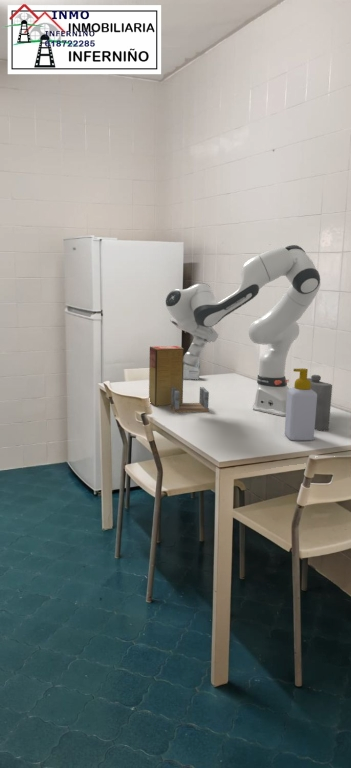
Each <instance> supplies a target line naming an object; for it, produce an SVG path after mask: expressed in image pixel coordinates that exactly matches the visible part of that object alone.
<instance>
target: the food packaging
mask: <svg viewBox="0 0 351 768" xmlns="http://www.w3.org/2000/svg"><path fill="white" fill-rule="evenodd" d="M184 355H185V348H183V347H181V346H178V345H169V346H168V345H167V346H160V345H159V346H149V369H148V370H149V371H148V372H149V373H148V376H149V378H148V381H149V382H148V399H149V398H150V402H151V403H150V404H151V405H152V406H154V407H166V406H168V407H169V406H171V389H172V387H175V388H176V389H177V390H178V391H179V403H184V401H183V399H184V379H183V365H184V362H183V356H184Z"/></svg>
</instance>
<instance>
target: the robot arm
mask: <svg viewBox="0 0 351 768" xmlns="http://www.w3.org/2000/svg"><path fill="white" fill-rule="evenodd" d="M282 276H285V277H286V279H287V280H288V281H289V282H290V285H289V286H288V288H287V289H286V291H285V292H284V293H283V295H282V297H281V298H280V299H279V300H278V302H277V303H276V304H275V305H274V306H273V307H272V308H271V309H269V311H267V312H266V313H265V314H263V316H261V317H260V318H258V319H256V320H254V321H252V322H251V324H250V325H249V327H248V337H249V339H250V340H251V342H252V343H254V344H256V345H257V344H258V345H263V346H264V345H265V346H267V347H266V349H265V351H264V352H263V353H262V354H261V355H260V357H259V360H258V362H259V363H258V367H259V368H258V374H257V377H256V380H257V381H256V384H257V388H256V393H255V399H254V402H253V405H252V407H253V408H252V410H254V411H257V412H263V413H267V414H273V415H277V416H281V417H286V404H287V391H288V389H289V388H290V387H289V386H288V382H290V379H286V376H285V373H286V372H285V370H286V361H287V357H288V353H289V351H290V348H291V346H292V344H293V343H294V341H295V340H296V339H297V338H298V337H299V335H300V326H299V324H298V322H297V321H299V320H300V319H301V318H302V316H303V315H304V314H305V312H306V311H307V309H308V307H309V306H310V305H311V304H312V302H313V301H314V299H315V297H316V296H317V295H318V293H319V289H320V287H321V276H320V273H319V271H318V270H317V268H316V265H315V263H314V262H313V260H312V259H310V256H309V255H308V254H307V253H306V251H305V250H304V249H303V248H302V247H301V246H299V245H297V244H291V245H287V246H286V247H282V246H281V247H278V248H277V247H276V248H273V249H270V250H267V251H265V252H262V253H260V254H258V255H255V256H253V257H251V258H249V259H248V260H247V261H245V263H244V264H243V266H242V268H241V272H240V283H239V286H238V289H237V290H236V291H234V292H233V293H231V294H230V295H229V296H226V298H224V299H221V301H219V302H217V300H216V297H215V294H214V292H213V290H212V287H211V286H210V284H208V283H204V282H197V283H193V285H191V286H189V287H188V288H184V289H178V288H177V289H174V290H173V289H172V290H171V291H170V292H169V293H168V294H167V296H166V297H165V306H166V309H167V311H168V312H169V313H170V315H171V318H170V319H169V320H170V322H171V324H173V325H174V326H175V327H176V328H177V329H179V330H181V331H184V332H186V333H189V334H190V335H192V337H194V336H195V335H196V336H199V337H201V338H204V339H206V341H207V343H209V344H211V342H212V343H215V342H216V341H217V339H218V337H219V333H218V332H217V331H216V329H214V328H213V327H214V326H216V325H218V323H219V322H220V321H221V320H223V319H224V318H226V317H227V316H228V315H230V314H232V313H233V312H234V311H236V310H238V309H239V308H241V307H242V306H244V305H247V303H249V302H250V301H251V300H253V299H254V298H255V297H256V296H257V295H258V294H259V292H260V290H261V289H262V288H263V287H264V286H265V285H267V284H269V283H271V282H273V281H275V280H277V279H279V278H280V277H282ZM211 326H212V327H211Z"/></svg>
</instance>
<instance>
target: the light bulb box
mask: <svg viewBox="0 0 351 768" xmlns="http://www.w3.org/2000/svg"><path fill="white" fill-rule="evenodd" d="M200 363H201V361H200V358H199V362H198V364H197V366H195V367H190V366H187V365H186V364H185V363H184V365H183V380H191V379H195V381H199V380H198V379H200V370H201V369H200V368H201V367H200V366H201V365H200ZM196 379H197V380H196Z"/></svg>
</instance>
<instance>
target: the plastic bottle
mask: <svg viewBox="0 0 351 768" xmlns="http://www.w3.org/2000/svg"><path fill="white" fill-rule="evenodd" d="M211 327H212V328H213V326H211ZM207 343H208V342H207V341H206V339H204V338H201V337H199V336H196V335H195V336H193V340H192V342H191V344H190V346H189V348H188V350H187V351H186V352H185V353H184V356H183V362H184V363H185V364H186V365H187V366H190V367H195V366H197V364H198V362H199V359H200V358H201V355H202V353H203V350H204V349H205V347H206V345H207Z"/></svg>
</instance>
